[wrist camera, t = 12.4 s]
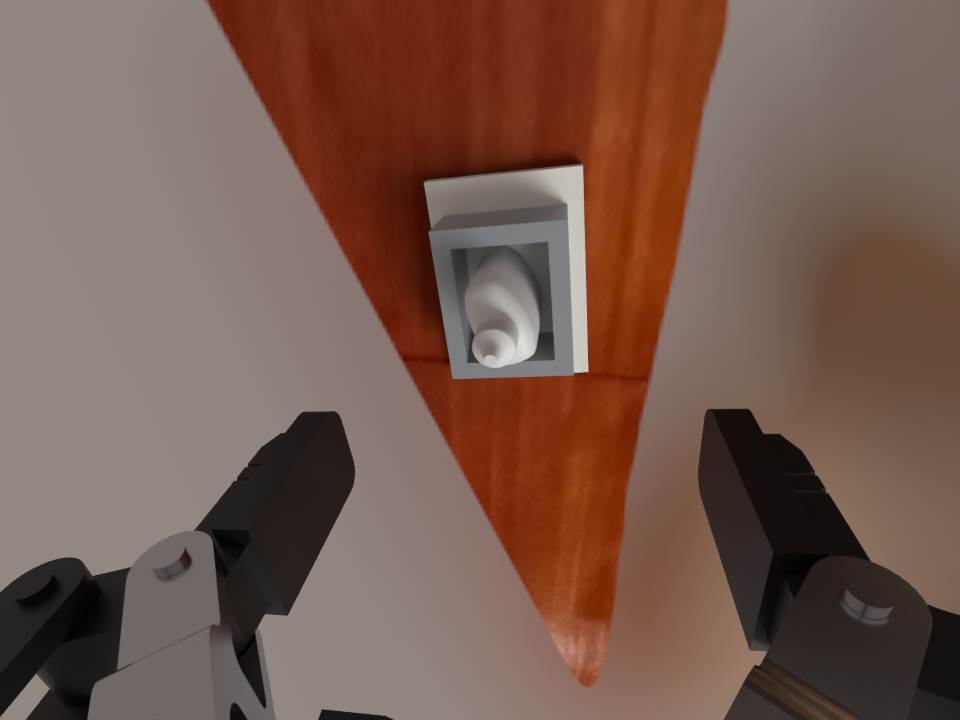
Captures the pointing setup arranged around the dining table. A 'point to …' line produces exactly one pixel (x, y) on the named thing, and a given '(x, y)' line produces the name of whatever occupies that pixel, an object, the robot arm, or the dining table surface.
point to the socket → (534, 237)
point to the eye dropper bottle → (503, 309)
